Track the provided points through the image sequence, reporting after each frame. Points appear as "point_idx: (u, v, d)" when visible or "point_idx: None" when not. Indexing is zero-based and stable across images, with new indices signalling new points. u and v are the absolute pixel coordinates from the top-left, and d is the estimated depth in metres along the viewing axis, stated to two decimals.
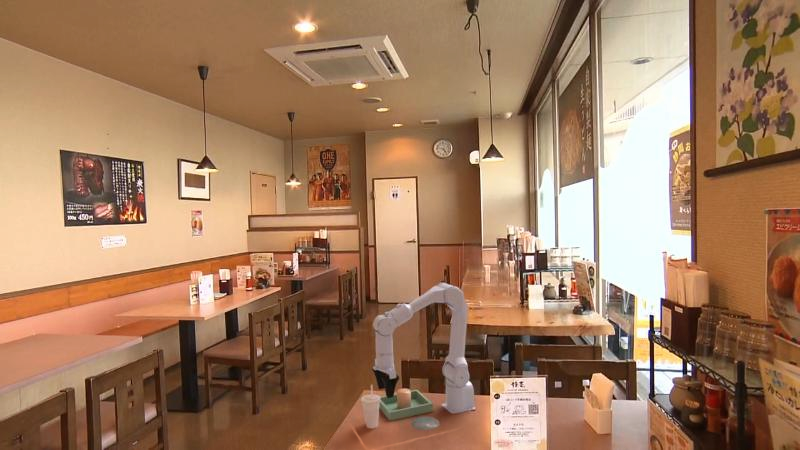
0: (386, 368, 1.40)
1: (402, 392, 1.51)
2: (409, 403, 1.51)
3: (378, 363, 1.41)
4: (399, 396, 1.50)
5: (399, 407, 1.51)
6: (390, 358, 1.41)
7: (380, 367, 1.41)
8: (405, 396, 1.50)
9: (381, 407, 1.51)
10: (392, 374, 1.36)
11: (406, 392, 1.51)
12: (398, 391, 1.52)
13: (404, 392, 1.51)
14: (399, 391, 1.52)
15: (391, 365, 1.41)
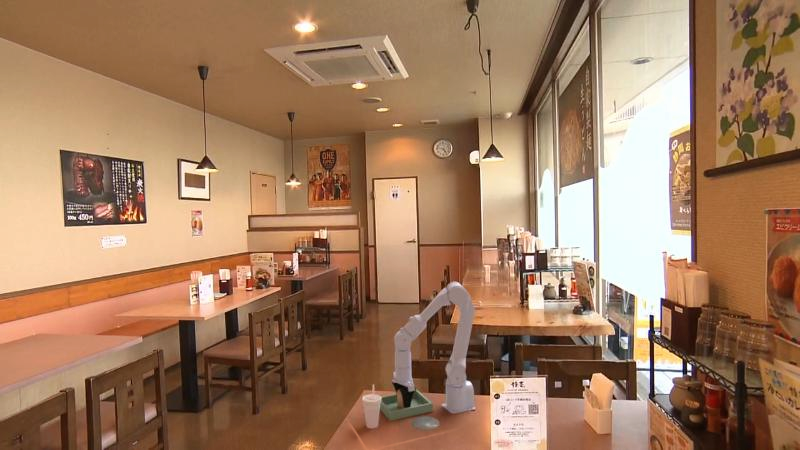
0: (405, 381, 1.49)
1: None
2: None
3: (397, 376, 1.50)
4: (399, 396, 1.50)
5: (399, 407, 1.51)
6: (408, 372, 1.50)
7: (399, 380, 1.49)
8: None
9: (381, 407, 1.51)
10: (411, 387, 1.45)
11: None
12: (398, 391, 1.52)
13: None
14: (399, 391, 1.52)
15: (409, 378, 1.50)
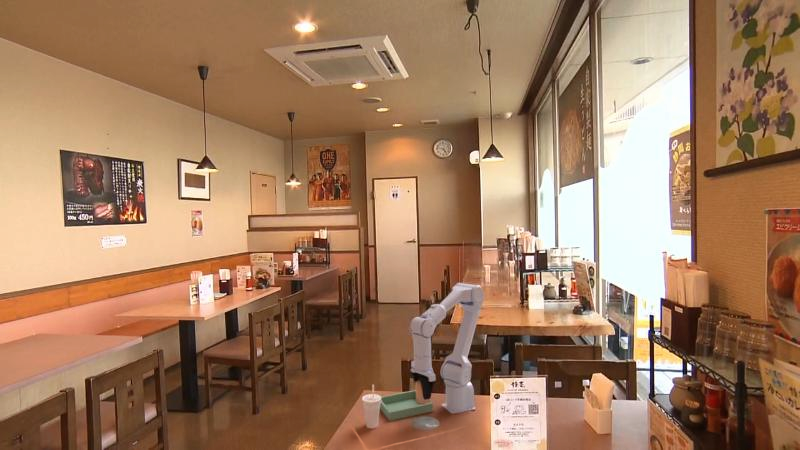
0: (425, 370, 1.38)
1: None
2: None
3: (416, 365, 1.39)
4: (417, 388, 1.39)
5: (417, 399, 1.40)
6: (429, 360, 1.39)
7: (418, 369, 1.39)
8: None
9: (381, 407, 1.51)
10: (432, 377, 1.34)
11: None
12: (416, 382, 1.41)
13: None
14: (417, 382, 1.42)
15: (429, 367, 1.39)
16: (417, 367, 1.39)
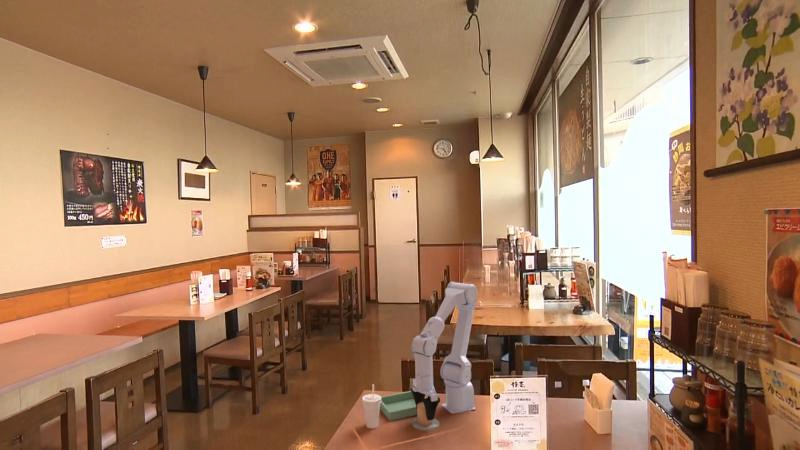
0: (426, 390, 1.38)
1: (423, 406, 1.40)
2: None
3: (418, 384, 1.39)
4: (419, 410, 1.39)
5: (419, 422, 1.39)
6: (430, 379, 1.39)
7: (420, 389, 1.38)
8: None
9: (381, 407, 1.51)
10: (434, 397, 1.34)
11: None
12: (418, 405, 1.41)
13: None
14: (419, 404, 1.41)
15: (431, 387, 1.39)
16: (419, 386, 1.38)
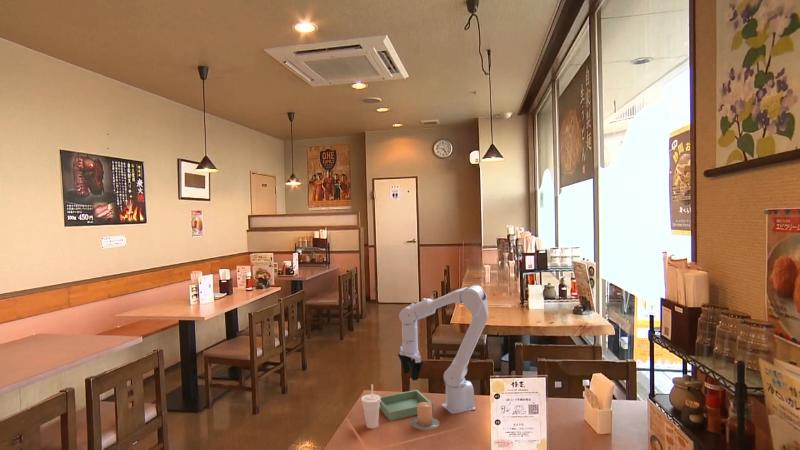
0: (412, 353, 1.55)
1: (423, 406, 1.40)
2: (430, 418, 1.39)
3: (404, 349, 1.56)
4: (419, 410, 1.39)
5: (419, 422, 1.39)
6: (415, 344, 1.56)
7: (406, 352, 1.56)
8: (426, 410, 1.38)
9: (381, 407, 1.51)
10: (418, 358, 1.51)
11: (427, 406, 1.40)
12: (418, 405, 1.41)
13: (425, 406, 1.40)
14: (419, 404, 1.41)
15: (416, 351, 1.57)
16: (405, 350, 1.56)
